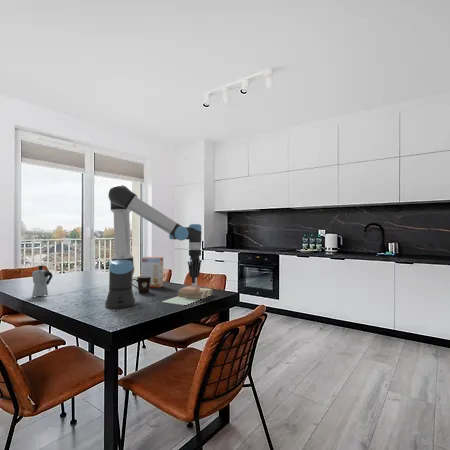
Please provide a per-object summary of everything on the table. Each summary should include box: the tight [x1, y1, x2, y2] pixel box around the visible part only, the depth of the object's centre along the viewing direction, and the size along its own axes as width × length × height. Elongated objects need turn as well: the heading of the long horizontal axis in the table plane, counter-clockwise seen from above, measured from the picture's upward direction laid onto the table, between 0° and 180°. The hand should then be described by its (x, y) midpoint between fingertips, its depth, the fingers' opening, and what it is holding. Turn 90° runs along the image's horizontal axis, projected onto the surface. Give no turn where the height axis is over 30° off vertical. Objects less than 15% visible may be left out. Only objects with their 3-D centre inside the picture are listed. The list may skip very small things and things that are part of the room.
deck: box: [177, 287, 213, 300], centre depth 183 cm, size 14×16×4 cm
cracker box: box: [141, 256, 164, 288], centre depth 213 cm, size 14×6×21 cm, turn 74°
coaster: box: [180, 285, 201, 293], centre depth 178 cm, size 8×8×2 cm
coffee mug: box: [132, 275, 151, 294], centre depth 193 cm, size 12×9×10 cm
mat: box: [161, 295, 201, 306], centre depth 170 cm, size 15×16×1 cm
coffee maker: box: [31, 265, 53, 297], centre depth 179 cm, size 15×9×18 cm, turn 73°
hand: (194, 288), depth 183 cm, fingers closed
